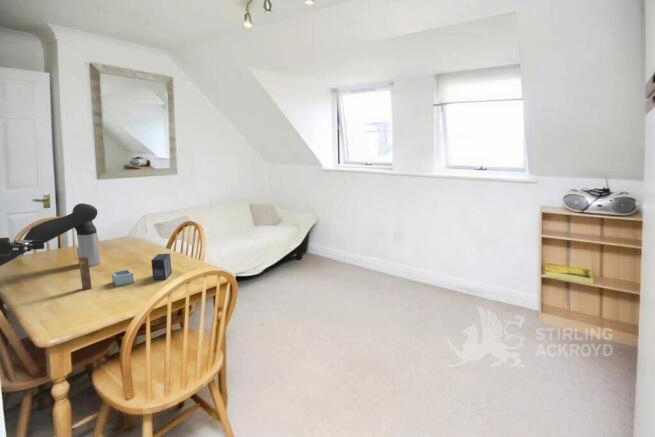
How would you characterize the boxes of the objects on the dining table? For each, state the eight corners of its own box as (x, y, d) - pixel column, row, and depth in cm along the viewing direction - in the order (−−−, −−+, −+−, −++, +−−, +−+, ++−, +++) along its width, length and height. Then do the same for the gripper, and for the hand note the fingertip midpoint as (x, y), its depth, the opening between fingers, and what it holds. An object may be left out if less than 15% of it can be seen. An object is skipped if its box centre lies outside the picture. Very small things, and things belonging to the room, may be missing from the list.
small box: (159, 273, 205) (157, 253, 203) (172, 272, 206) (170, 253, 204) (152, 280, 195) (150, 259, 193) (166, 280, 196) (164, 259, 194)
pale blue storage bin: (116, 286, 186) (115, 276, 185) (112, 282, 192) (111, 272, 191) (133, 283, 191) (132, 273, 190) (129, 278, 197) (128, 269, 196)
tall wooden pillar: (83, 290, 182) (79, 258, 179) (82, 288, 184) (78, 256, 181) (91, 288, 184) (87, 257, 181) (90, 286, 186) (86, 255, 183)
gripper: (-4, 253, 168) (44, 250, 178) (-7, 259, 157) (44, 256, 166) (-5, 235, 168) (43, 233, 177) (-8, 241, 156) (43, 238, 166)
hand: (44, 244), depth 172 cm, fingers open, 8 cm apart
